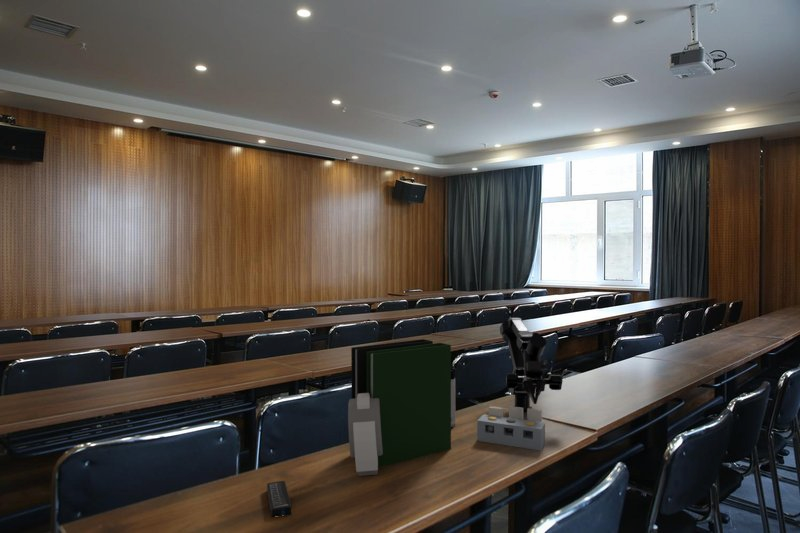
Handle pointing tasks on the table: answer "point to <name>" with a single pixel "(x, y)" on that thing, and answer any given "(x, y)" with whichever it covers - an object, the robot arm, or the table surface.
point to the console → (511, 432)
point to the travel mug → (453, 397)
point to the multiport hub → (278, 499)
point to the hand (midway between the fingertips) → (535, 403)
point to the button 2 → (515, 413)
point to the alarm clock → (365, 433)
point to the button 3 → (534, 416)
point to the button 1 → (494, 414)
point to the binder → (407, 395)
